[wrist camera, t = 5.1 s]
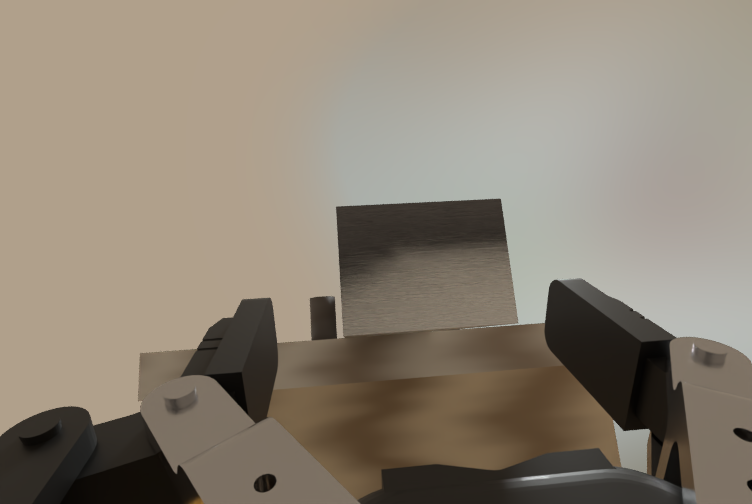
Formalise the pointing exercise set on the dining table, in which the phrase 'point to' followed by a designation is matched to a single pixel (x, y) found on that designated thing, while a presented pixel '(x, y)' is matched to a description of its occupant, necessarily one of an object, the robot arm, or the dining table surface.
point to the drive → (424, 267)
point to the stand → (420, 399)
